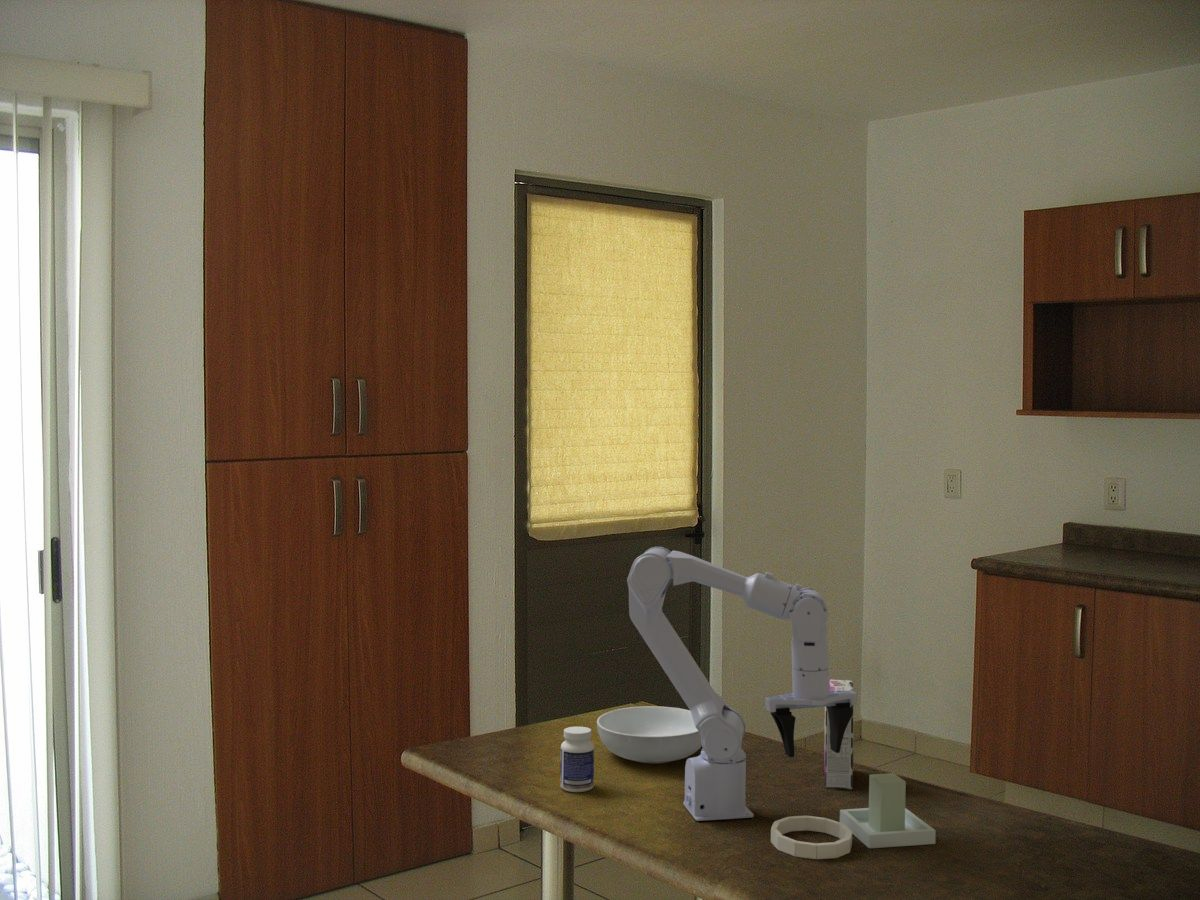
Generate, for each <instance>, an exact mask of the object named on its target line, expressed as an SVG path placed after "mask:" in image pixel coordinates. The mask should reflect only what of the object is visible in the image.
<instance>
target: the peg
mask: <svg viewBox="0 0 1200 900" xmlns="http://www.w3.org/2000/svg"><path fill="white" fill-rule="evenodd" d="M868 781H869V782H868V784H869V785H868V808H869V818H868V826H869V827H870V828H871V829H873V830H874V831H875V832H889V831H904V830H905V808H906V787H907V786H906V785H907V783H906V782H907V781H906V780H904V779H903V778H901V777H900V776H898V775H897V774H895V773H894V772H891V773H888V772H887V773H872V774H869V779H868Z"/></svg>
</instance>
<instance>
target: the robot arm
mask: <svg viewBox="0 0 1200 900" xmlns="http://www.w3.org/2000/svg"><path fill="white" fill-rule="evenodd" d="M630 567H631V568H630V569H629V574H628V576H627V580H626V583H627V587H628V608H629V609H628V612H629V615H628V616H629V618H630V620H631V622H632V624H633V625H634V626H635V628H636V629H637V631H638V633H639V634H640V636H641V637H642V639H643V640H644V642H645V644H646V645H647V646H648V648H649V649H650V651H651V653H652V655H653V656H654V657H655V659H656V661H657V662H658V663H659V664H660V666H661V668H662V670H663V672H664V673H665V674H666V676H667V677H668V679H669V680H670V682H671V684H672V685H673V686H674V688H675V690H676V691H677V692H678V694H679V696H680V697H681V699H682V700H683V702H684V703H685V705H686V707H687V708H688V710H690V711H691V714H692V718H693V721H694V724H695V727H696V728H697V730H698V731H699V733H700V736H701V743H702V746H701V747H702V749H701V751H700V754H699V755H698V756H693V757H689V758H687V759H686V761H685V767H684V801H683V802H682V804H683V806H684V807H685V808H686V810H687V811H688V812H689V813H690V815H691V816H692V817H693V819H694V820H695V821H697V822H703V821H717V820H719V821H721V820H735V819H736V820H737V819H738V820H739V819H749V818H750V819H751V818H754V817H755V815H754V814H755V813H753V812H752V811H751V810H750V809H749V808H748V806H746V782H747V781H746V780H747V779H746V777H747V775H746V774H747V771H746V770H747V759H746V758H747V752H745V751H744V750H743V748H742V745H743V744H742V743H743V742H742V740H743V738H744V735H745V733H746V724H745V721H744V718H743V716H742V715H741V714H740V713H739V712H738V711H737V710H736V709H734V708H732V707H730V706H729V705H728V703H727V702H726V701H725V699H724V698H723V697H722V696H720V695H719V694H718V693H717V692H715V689H714V688H713V687H712V685H711V684H710V682H709V681H708V679H707V678H706V676H705V674H704V673H703V672H702V670H701V668H700V666H699V665H698V664H697V662H696V661H695V659H694V658H693V656H692V655H691V653H690V652H689V650H688V648H687V647H686V645H685V644H684V643H683V641H682V640H681V638H680V636H679V635H678V633H677V632H676V630H675V628H674V627H673V625H672V624H671V623H670V620H669V619H668V618H667V616H666V615H665V613H664V612H663V606H664V601H665V597H666V592H667V590H668V588H669V586H670V584H671V583H672V585H673V587H674V586H679V585H684V584H687V583H691V582H694V583H696V584H701V585H705V586H707V587H710V588H714V589H716V590H719V591H723V592H726V593H730V594H733V595H736V596H739V597H741V598H742V599H741V600H743V603H744V605H745V606H746V608H749V609H752V610H755V611H758V612H760V613H762V614H765V615H768V616H771V617H775V618H777V619H780V620H782V621H786V620H790V622H791V623H792V636H791V639H790V641H791V647H790V649H791V650H790V651H791V679H792V680H791V682H792V683H791V687H792V688H791V689H792V692H790V693H786V694H780V695H774V696H767V697H764V700H765V701H764V702H765V710H766V712H769V713H770V715H771V717H772V718H773V720H774V722H775V724H776V727H777V729H778V731H779V734H780V737H781V740H782V744H783V748H784V753H785V755H786V756H788V757H789V758H794V757H795V741H794V739H795V737H794V736H795V726H796V725H795V724H796V716H794V715H793V712H792V711H791V710H799V709H812V708H813V709H814V708H821V707H822V708H823V707H824V708H825V706H827V710H828V716H829V723H830V747H831V750H833V751H834V752H835V753H840V749H841V743H842V739H843V736H844V733H845V730H846V727H847V725H848V723H849V721H850V719H851V717H852V716H853V708H852V707H850V705H854V706H857V704H858V703H857V702H858V701H857V698H858V697H857V692H855V691H854V690H853V691H852V690H848V691H829V679H830V667H829V665H830V663H829V661H830V660H829V639H828V637H827V634H828V627H827V625H826V624H827V621H828V620H829V619H828V618H829V612H828V604H827V601H826V598H825V597H824V596H823V595H822V594H821V593H820V592H818V591H817V590H815V589H814V588H813V587H803V585H802V584H799V583H795V585H794V584H791V583H789V582H785V581H782V580H779V579H777V578H774V573H772V572H768V571H766V572H765V574H763V573H760V572H757V573H754V574H752V575H750V576H745V575H742V574H740V573H737V572H735V571H732V570H730V569H727V568H725V567H722V566H720V565H718V564H715V563H712V562H710V561H707V560H704V559H702V558H700V557H697V556H694V555H692V554H688V553H686V552H683V551H678V550H672V551H671V550H669V549H668V548H666V547H663V546H654V547H653V546H652V547H650V548H648V549H646V550H645V551H644V552H643V553H642V554H640V555H639V556H637V557H636V558H635V559H634V561H633V563H632V565H631V566H630Z"/></svg>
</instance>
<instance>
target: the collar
mask: <svg viewBox="0 0 1200 900" xmlns="http://www.w3.org/2000/svg"><path fill="white" fill-rule="evenodd" d="M801 831H802V832H803V831H811V832H817V833H825V834H828V835H830V836H834V837H836V838H838V839H837V840H836V841H832V842H820V843H819V842H807V841H803V840H802V841H800V840H796V839H793V838H791V837H788V836H787V835H786V836H785V834H787V833H790V832H801ZM770 843H771V844H772V845H773V846H774V847H775V848H776V849H777V850H778V851H780V852H783V853H785V854H788V855H790V856H793V857H796V858H804V859H811V860H827V859H838V858H840V857H842V856H843V857H844V856H845V855H846V854H847V855H848V854H850V853H851V851H852V850H851V849H852V846H853V834H852V831H851V830H850V829H849V828H848V827H847V826H846V825H844V824H843V823H840V821H836V820H834V819H831V818H827V817H823V816H821V817H820V816H812V815H793V816H786V817H782V818H781V819H780V818H779V819H777V820H775V821H774V822H773V823H772V825H771V828H770Z"/></svg>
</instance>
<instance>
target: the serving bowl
mask: <svg viewBox="0 0 1200 900" xmlns="http://www.w3.org/2000/svg"><path fill="white" fill-rule="evenodd" d="M596 726H597V733H598V736H599V739H600V740H601V743H602V744H603V746H605V748H606V749H607V750H608V751H610V752H611V753H613V754H614V755H616V756H618V757H620V758H623V759H626V760H630V761H634V762H638V763H642V764H658V765H659V764H666V763H670V762H675V761H679V760H682V759H685V758H688V757H690V756H691V755H693V754H695V753H696V752H698V750H700V749H701V747H702V743H701V736H700V733H699V731H698V730H697V728H696V727H695V724H694V721H693V718H692V714H691V711H690V709H685V708H680V707H672V706H670V707H669V706H656V705H653V706H652V705H650V706H649V705H645V706H644V705H643V706H640V705H639V706H630V707H623V708H618V709H614V710H613V709H612V710H611V711H607V712H605V713H603V714H601V715H599V716H598V718H597V720H596Z"/></svg>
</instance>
